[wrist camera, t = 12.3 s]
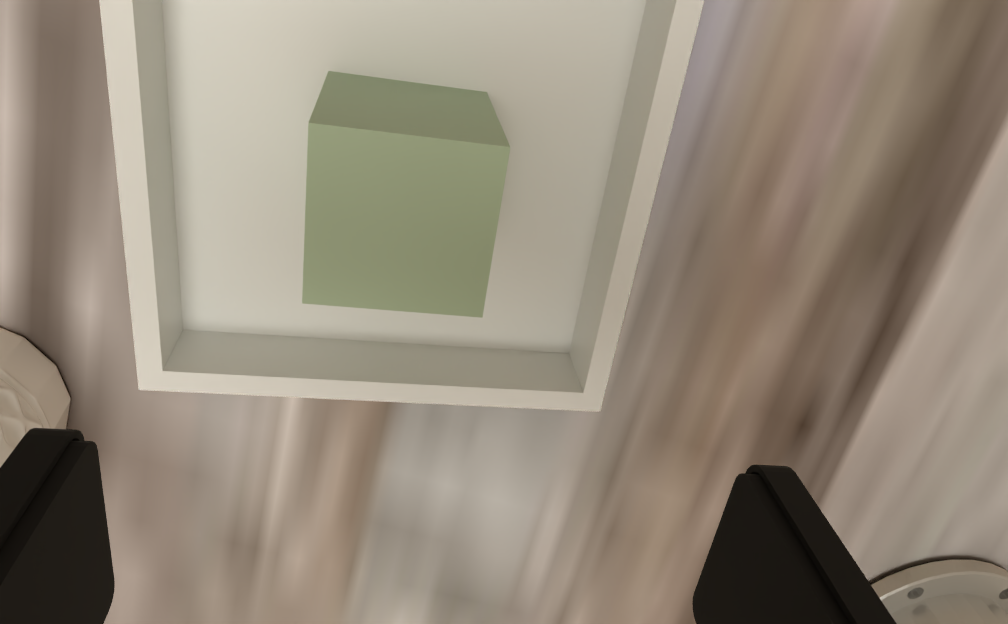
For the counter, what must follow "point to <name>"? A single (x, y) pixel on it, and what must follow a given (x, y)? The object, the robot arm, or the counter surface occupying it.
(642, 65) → the white bin
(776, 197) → the counter surface
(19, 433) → the white cup
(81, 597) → the robot arm
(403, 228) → the green block
